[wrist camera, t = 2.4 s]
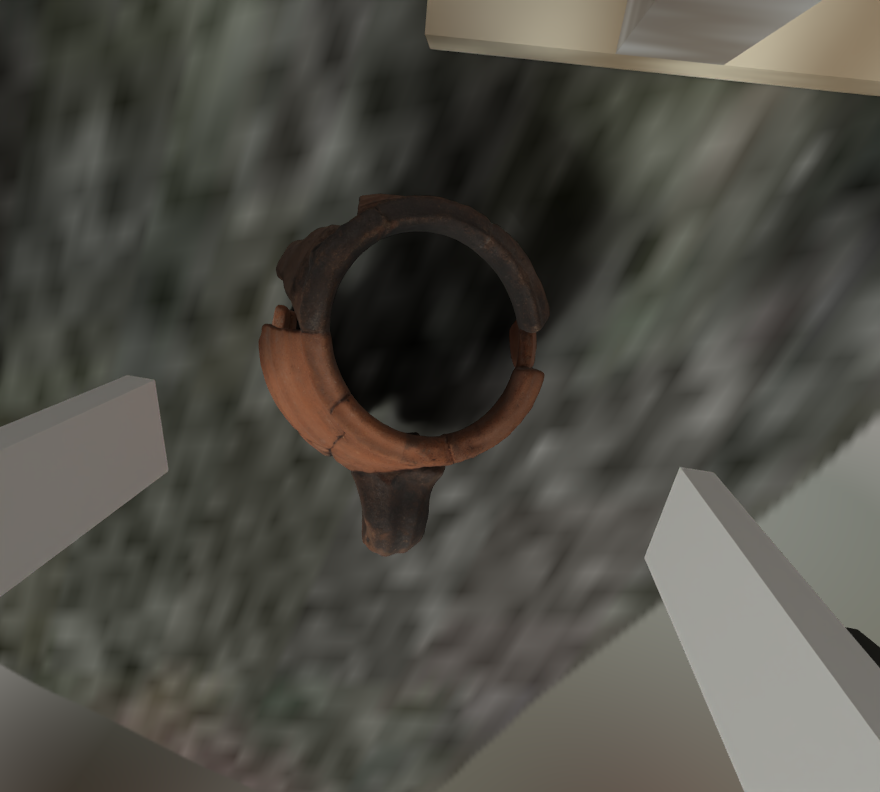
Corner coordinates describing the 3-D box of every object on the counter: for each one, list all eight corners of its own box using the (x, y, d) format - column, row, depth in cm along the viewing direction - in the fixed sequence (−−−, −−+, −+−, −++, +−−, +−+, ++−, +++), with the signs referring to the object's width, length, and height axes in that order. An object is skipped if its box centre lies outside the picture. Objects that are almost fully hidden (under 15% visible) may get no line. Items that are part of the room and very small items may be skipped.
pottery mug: (252, 239, 17) (223, 146, 9) (470, 240, 20) (583, 171, 12) (287, 526, 19) (287, 649, 11) (485, 487, 22) (595, 562, 14)
